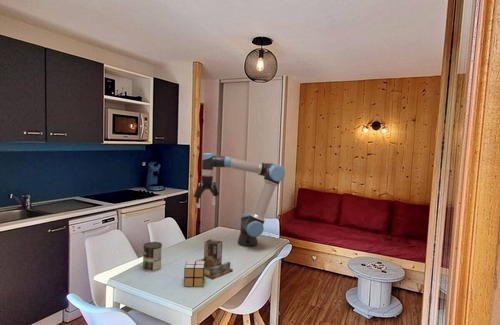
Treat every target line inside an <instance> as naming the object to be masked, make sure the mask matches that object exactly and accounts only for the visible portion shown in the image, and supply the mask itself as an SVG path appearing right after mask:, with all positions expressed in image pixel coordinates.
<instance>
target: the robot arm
mask: <svg viewBox="0 0 500 325" xmlns="http://www.w3.org/2000/svg"><path fill="white" fill-rule="evenodd" d="M201 160H202V162H201V175H202V176H201V182H198V183H197V187H196V189H195V192H194V194H193V198H195V203H196V209H197V208H198V209H200V208H201V198H200V197H201V196H202V195H203V193H204V191H206V190H209V191H210V192H211V194H212V196H211V205H212V206H216V201H217V197H218V196H219V194H220V193H219V191H218V188H217V185H216V181H215V182H214V181H213V179H214V177H213V175H214V168H228V169H233V170H237V171H238V170H239V171H243V172H248V173H254V174H257V175H258V176H262V177H264V178H263V181H264V182H263V186H262V189H261V191H260V193H259V195H258V198H257V201H256V204H255V205H254V208H253V211H252V212H251V213H250V212H249V213H242V214H241V215H240V232H239V236H238V239H237V244H238V245H239V246H242V247H256V246H257V245H258V239H257V237H259V236H261V235H262V234H263V232H264V224H265V215H266V212H267V209H268V208H269V205H270V202H271V200H272V197H273V195H274V192H275V190H276V187H277V186H279V185H280V183H281V181H282V180H284V178H285V176H286V171H285V169H284V167H283V166H282V165H281V164H278V163H271V162H270V163H268V162H267V163H265V162H259V163H258V162H255V161H254V162H252V161H247V160H243V159H239V158H232V157H230V156H223V155H215V154H214V153H213V152H204V153H202V159H201Z"/></svg>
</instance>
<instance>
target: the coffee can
mask: <svg viewBox="0 0 500 325" xmlns="http://www.w3.org/2000/svg"><path fill="white" fill-rule="evenodd" d="M162 246H163V243H162V242H159V241H148V242H146V243H144V244H143V245H142V247H143V250H142V251H143V254H142V255H143V256H142V258H143V259H142V261H143V262H142V270H143V271H144V272H148V273H151V272H152V273H153V272H154V273H155V272H157V271H160V270H161V269H162Z"/></svg>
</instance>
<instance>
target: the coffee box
mask: <svg viewBox="0 0 500 325" xmlns="http://www.w3.org/2000/svg"><path fill="white" fill-rule="evenodd" d="M203 243H204V246H203V248H204V249H203V258H204V261H205V269H207V270H210V268H213V267H215V266H218V265H221V264H223V262H222V261H223V241H221V240H217V239H216V240H215V239H210V238H209V239H207V240H206V241H204V242H203Z"/></svg>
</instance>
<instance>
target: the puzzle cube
mask: <svg viewBox="0 0 500 325" xmlns="http://www.w3.org/2000/svg"><path fill="white" fill-rule="evenodd" d="M183 277H184V278H183V287H184V288H185V287H186V288H190V287H196V288H197V287H199V288H203V286H204V284H205V277H206V276H205V261H197V260H187V261H186V262H185V266H184V271H183Z"/></svg>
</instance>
